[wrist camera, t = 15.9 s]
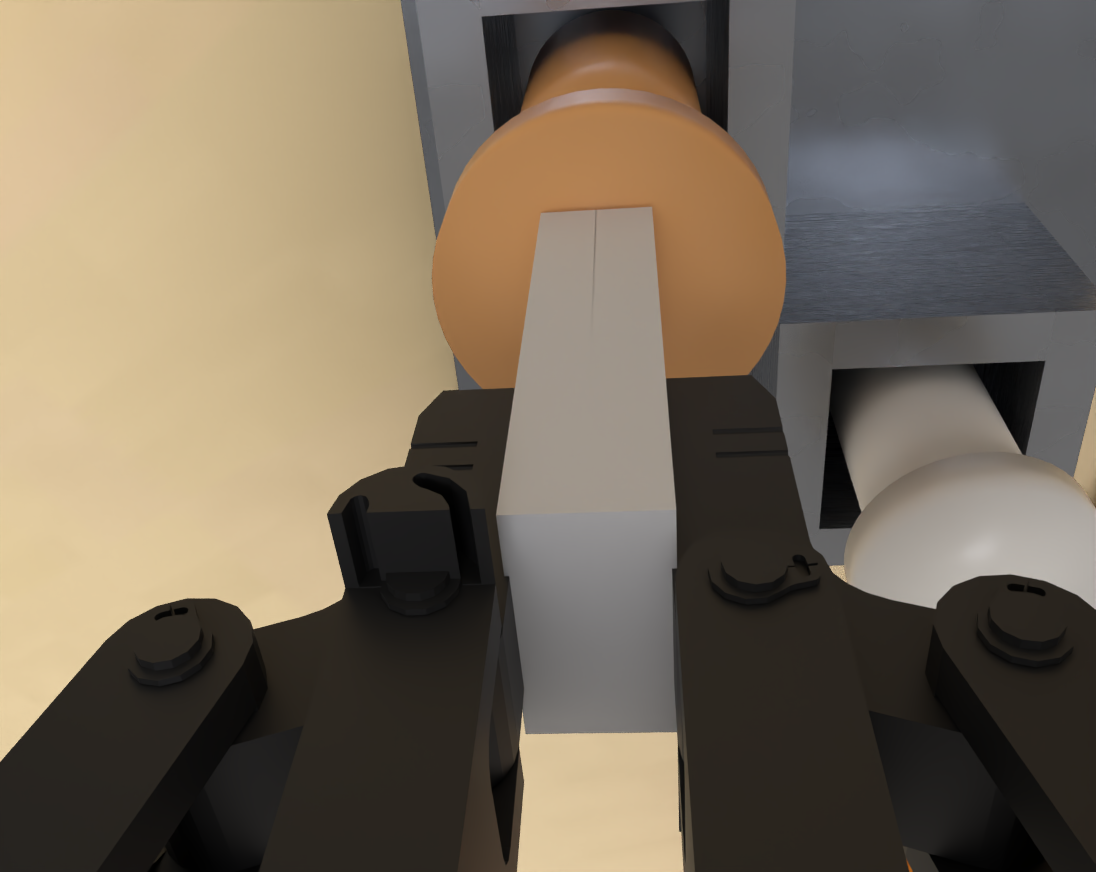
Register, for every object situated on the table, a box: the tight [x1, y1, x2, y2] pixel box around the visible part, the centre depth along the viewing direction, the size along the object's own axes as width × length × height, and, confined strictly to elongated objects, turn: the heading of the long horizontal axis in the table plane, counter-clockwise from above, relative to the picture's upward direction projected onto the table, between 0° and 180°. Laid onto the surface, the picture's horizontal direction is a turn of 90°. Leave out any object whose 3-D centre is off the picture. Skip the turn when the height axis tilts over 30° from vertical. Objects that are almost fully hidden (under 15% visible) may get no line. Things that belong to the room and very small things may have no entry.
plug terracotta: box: [432, 10, 786, 389], centre depth 19 cm, size 5×5×9 cm
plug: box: [829, 364, 1096, 609], centre depth 24 cm, size 5×5×9 cm
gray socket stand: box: [401, 0, 1096, 566], centre depth 24 cm, size 18×28×8 cm, turn 5°
